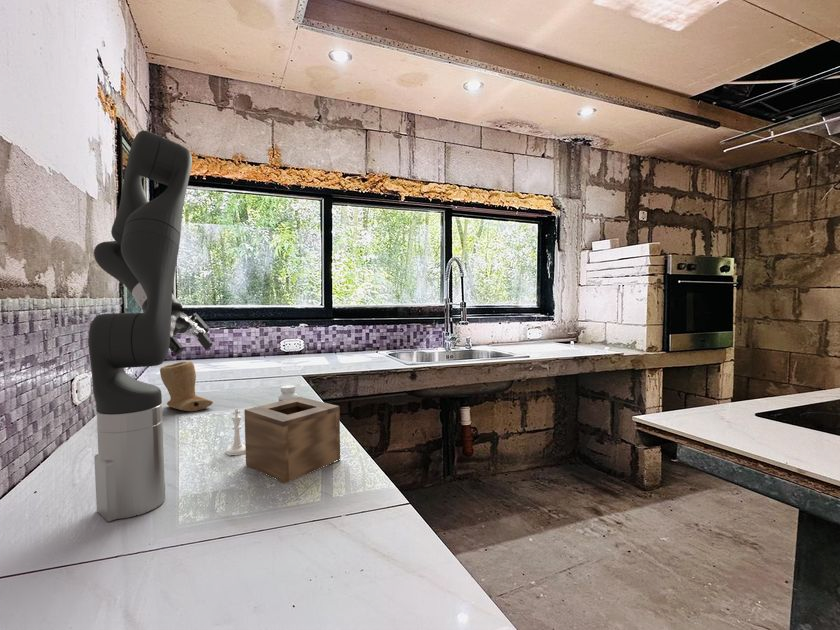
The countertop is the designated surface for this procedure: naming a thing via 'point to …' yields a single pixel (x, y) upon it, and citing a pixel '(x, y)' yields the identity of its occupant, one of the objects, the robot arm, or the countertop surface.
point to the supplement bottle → (287, 392)
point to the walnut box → (292, 437)
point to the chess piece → (236, 437)
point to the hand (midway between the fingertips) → (195, 349)
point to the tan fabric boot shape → (182, 387)
